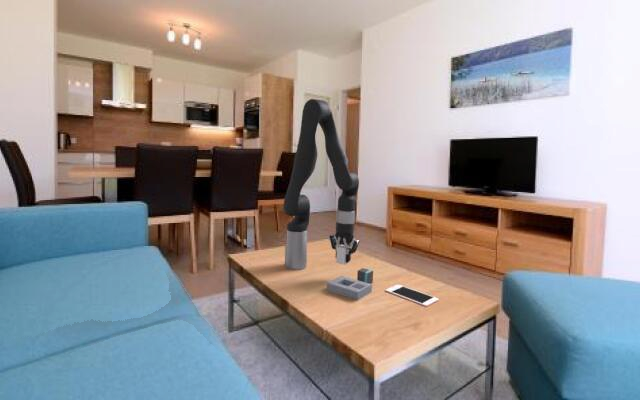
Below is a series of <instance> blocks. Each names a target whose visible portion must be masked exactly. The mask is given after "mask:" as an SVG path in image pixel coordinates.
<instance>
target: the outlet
mask: <svg viewBox="0 0 640 400" xmlns="http://www.w3.org/2000/svg"><path fill="white" fill-rule="evenodd" d="M372 288H373V283H371V284H369V283H365V282H362V281H358V280H357V279H354V278H350V277H349V276H348V277H347V276H344V275H340V276H338V277H336V278H334V279H331V280H329V281H327V282H326V291H327V292H328V291H329V292H330V293H334V294H338V295H341V296H344V297H346V298H350V299H354V300H356V301H359V300H361V299H362V298H364V297H365V296H368V295H369V294H370V293H372V290H373V289H372Z"/></svg>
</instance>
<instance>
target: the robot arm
mask: <svg viewBox="0 0 640 400" xmlns="http://www.w3.org/2000/svg"><path fill="white" fill-rule="evenodd" d="M301 115H302V116H301V124H300V131H299V132H300V133H299V137H298V142H297V147H296V152H295V156H294V161H293V166H292V172H291V176H290V181H289V184H288V187H287V189H286V193H285V196H284V200H283V211H284V214H286V215H287V216H288V217H293V219H292V220H290V221H289V222H288V223H287V224H286V245H284V246H285V247H284V266H285V267H286V268H288V269H289V270H303V269H306V268H307V258H308V257H307V256H308V255H307V254H308V253H307V252H308V227H309V224H310V214H311V203H310V202H311V201H310V198H309V197H308V196H307V195H305V194H301V193H302V189H303V187H304V185H306V183H307V182H308V180H309V179H310V178H311V176H312V174H313V173H314V171H315V169H316V163H317V161H318V160H317V159H318V148H317V142H316V133H317V128H318V125H319V126H320V128H321V130H322V132H323V135H324V136H323V137H324V142H325V143H324V144H325V152H326V155H327V157H328V160H329V163H330V165H331V167H332V171H333V176H334V181H335V183H336V186H337V187H338V188H339V189H340V190H341V194H340V196H339V197H338V199H337V212H336V218H335V219H336V221H335V234H334V233H333V234H330V235H329V240H330V246H331V249H332V250H335V258H336V256H337V246H338V247H339V246H341V245H344V246H345V248H346V261H345V262H346V263H347V264H349V263H350V261H351V259H352V255H353V254H355V253H356V251H357V249H358V248H359V244H360V241H361V240H360V239H356V238H355V237H354V232H355V223H356V221H355V219H356V215H355V214H356V213H355V212H356V210H355V208H356V198H357V195H358V191H359V187H360V180H359V177H358V175H357V174H356V173H355V172H351V171H350V170H349V167H348V165H349V163H350V162H349V159H348V157H347V154H346V152H345V149H344V147H343V145H342V141H341V140H340V137H339V133H338V129H337V126H336V122H335V119H334V114H333V110H332V108H331V105H330V104H329V102H327V101H326V100H322V99H315V98H310V99H308V100H307V101H306V102H305V103H304V106H303V109H302V114H301ZM348 262H349V263H348Z"/></svg>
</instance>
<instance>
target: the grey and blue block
mask: <svg viewBox="0 0 640 400" xmlns="http://www.w3.org/2000/svg"><path fill="white" fill-rule="evenodd" d="M356 275H357V276H356V280H358V281H362V282H365V283H369V284H373V283H374V270H372V269H368V268H365V267H362V268H360V269H358V270H357V274H356Z"/></svg>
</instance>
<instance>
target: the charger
mask: <svg viewBox="0 0 640 400" xmlns="http://www.w3.org/2000/svg"><path fill="white" fill-rule="evenodd" d="M335 256H336V255H335ZM335 259H336V260H335V263H336V264H338V265H339V264H340V265H343V266H345V265H347V264H349V263H350V261H349V262H348V263H346V262H345V261H346V248H345V246H344V245H341V246H339V247H338V246H337V256H336V257H335Z"/></svg>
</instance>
